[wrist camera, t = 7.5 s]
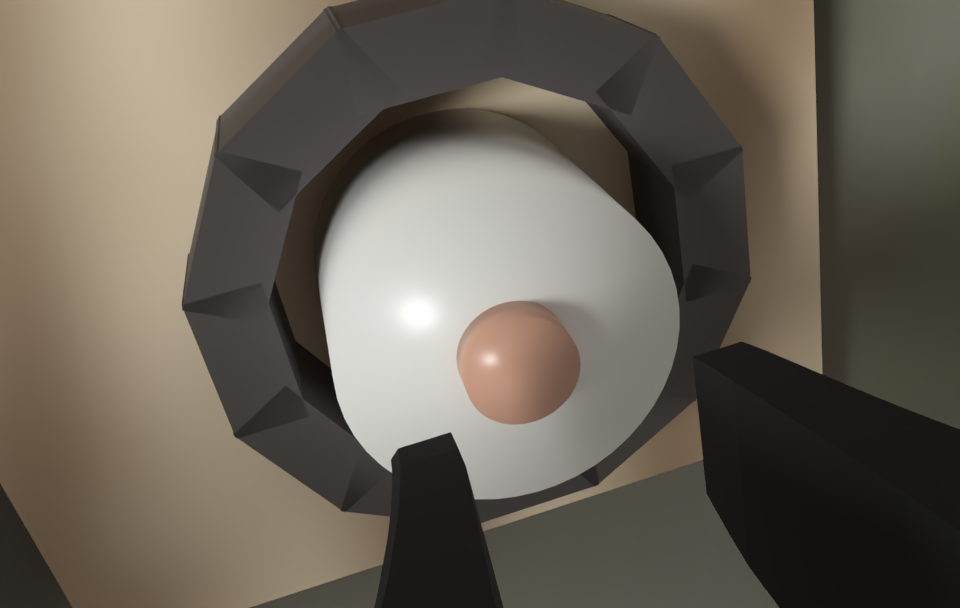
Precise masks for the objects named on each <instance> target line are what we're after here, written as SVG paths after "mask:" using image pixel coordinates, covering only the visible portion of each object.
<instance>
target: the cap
mask: <svg viewBox="0 0 960 608" xmlns="http://www.w3.org/2000/svg"><path fill="white" fill-rule="evenodd" d="M314 257H315V269H316V275H317V281H318V288H319V294H320V300H321V307H322V313H323V319H324V325H325V332H326V338H327V344H328V351H329V357H330V363H331V369H332V376H333V381H334V386H335V391H336V396H337V400H338V403H339V405H340V408H341V411H342V413H343V416H344V419H345V420H346V422H347V424H348V426H349V428H350V429H351V431H352V433H353V435H354V436H355V438H356V439H357V440H358V441H359V443H360V444H361V445H362V446H363V448H364V449H365V450H366V452H367V453H369V454H370V455H371V456H372V457H373V458H374V459H375V460H376V461H377V462H378V463H379V464H380V465H381V466H383V467H384V468H386V469H387V470H388V471H390V472H391V473H392V466H391V459H392V457H393V456H394V454H395V453H396V451H397V450H398V448H401V447H404V446H408V445H411V444H414V443H417V442H421V441H424V440H427V439H430V438H433V437H437V436H440V435H443V434H446V433H449V432H451V433H452V436H453V438H454V440H455V442H456V444H457V447H458V449H459V451H460V453H461V456H462V458H463V461H464V463H465V465H466V468H467V472H468V476H469V480H470V483H471V487H472V491H473V495H474V499H501V498H510V497H517V496H521V495H526V494H530V493H535V492H538V491H541V490H544V489H547V488H550V487H553V486H556V485H558V484H560V483H563V482H565V481H567V480H569V479H571V478H573V477H576V476H578V475H579V474H581V473H583V472H584V471H586V470H588V469H589V468H591V467H593V466H594V465H596V464H597V463H599V462H600V461H601V460H603V459H604V458H605V457H607V456H608V455H609V454H611V453H612V452H613V451H614V450H615V449H617V448H618V447H619V446H620V445H621V444H622V443H623V442H624V441H625V440H626V439H627V438H628V437H629V436H630V435H631V434H632V433H633V432H634V431H635V430H636V428H637V427H638V426H639V425H640V424H641V423H642V421H643V420H644V419H645V417H646V416H647V414H648V413H649V412H650V410H651V409H652V407H653V406H654V404H655V402H656V401H657V399H658V397H659V395H660V393H661V392H662V390H663V388H664V386H665V383H666V381H667V378H668V376H669V373H670V371H671V368H672V365H673V361H674V357H675V354H676V350H677V344H678V336H679V329H680V319H679V302H678V295H677V289H676V285H675V282H674V279H673V276H672V272H671V269H670V267H669V265H668V263H667V261H666V259H665V257H664V255H663V253H662V251H661V249H660V248H659V246H658V245H657V244H656V242H655V241H654V239H653V238H652V236H651V235H650V234H649V233H648V232H647V231H646V230H645V228H644V227H643V226H642V225H641V224H640V223H639V222H638V221H637V220H636V219H635V218H634V217H633V216H632V215H630V214H629V213H628V212H627V211H626V210H625V209H624V208H623V207H622V206H621V205H620V204H618V203H617V202H616V201H615V200H614V199H613V198H612V197H611V196H610V195H609V194H608V193H606V192H605V191H604V190H603V189H602V188H601V187H600V186H599V185H598V184H597V183H595V182H594V181H593V180H592V179H591V178H590V177H589V176H588V175H587V174H586V173H585V172H583V171H582V170H581V169H580V168H579V167H578V166H577V165H576V164H575V163H574V162H573V161H571V160H570V159H569V158H568V157H567V156H566V155H565V154H564V153H563V152H562V151H561V150H559V149H558V148H557V147H556V146H555V145H554V144H553V143H552V142H551V141H549V140H548V139H547V138H546V137H544V136H543V135H542V134H540V133H539V132H538V131H537V130H535V129H533V128H531V127H530V126H528V125H526V124H524V123H523V122H521V121H518V120H516V119H513V118H511V117H508V116H506V115H502V114H498V113H494V112H490V111H486V110H476V109H446V110H440V111H434V112H428V113H425V114H421V115H418V116H415V117H411V118H409V119H407V120H404V121H402V122H400V123H398V124H396V125H393V126H391V127H390V128H388V129H387V130H385V131H383V132H382V133H380V134H378V135H377V136H375V137H374V138H373V139H371V140H370V141H369V142H368V143H366V144H365V145H364V146H363V147H362V148H360V149H359V150H358V151H357V152H356V153H355V155H354V156H353V157H352V158H351V159H350V160H349V161H348V162H347V163H346V164H345V166H344V167H343V168H342V170H341V171H340V172H339V174H338V175H337V177H336V178H335V180H334V182H333V183H332V185H331V187H330V189H329V191H328V193H327V194H326V197H325V199H324V202H323V205H322V207H321V210H320V213H319V217H318V221H317V226H316V230H315V241H314Z"/></svg>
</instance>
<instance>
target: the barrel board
mask: <svg viewBox="0 0 960 608" xmlns="http://www.w3.org/2000/svg"><path fill="white" fill-rule="evenodd" d="M446 109H476V110H486V111H490V112H494V113H498V114H502V115H506V116H508V117H511V118H513V119H516V120H518V121H521V122H523V123H524V124H526V125H528V126H530V127H531V128H533V129H535V130H537V131H538V132H539V133H540V134H542V135H543V136H544V137H546V138H547V139H548V140H549V141H551V142H552V143H553V144H554V145H555V146H556V147H557V148H558V149H559V150H561V151H562V152H563V153H564V154H565V155H566V156H567V157H568V158H569V159H570V160H571V161H573V162H574V163H575V164H576V165H577V166H578V167H579V168H580V169H581V170H582V171H583V172H585V173H586V174H587V175H588V176H589V177H590V178H591V179H592V180H593V181H594V182H595V183H597V184H598V185H599V186H600V187H601V188H602V189H603V190H604V191H605V192H606V193H608V194H609V195H610V196H611V197H612V198H613V199H614V200H615V201H616V202H617V203H618V204H620V205H621V206H622V207H623V208H624V209H625V210H626V211H627V212H628V213H629V214H630V215H632V216H633V217H634V218H635V219H636V220H637V221H638V222H639V223H640V224H641V225H642V226H643V227H644V228H645V230H646V231H647V232H648V233H649V234H650V235H651V236H652V238H653V239H654V241H655V242H656V244H657V245H658V246H659V248H660V249H661V251H662V253H663V255H664V257H665V259H666V261H667V263H668V265H669V267H670V269H671V272H672V276H673V279H674V282H675V285H676V289H677V295H678V302H679V319H680V329H679V336H678V344H677V350H676V354H675V357H674V361H673V365H672V368H671V371H670V373H669V376H668V378H667V381H666V383H665V386H664V388H663V390H662V392H661V393H660V395H659V397H658V399H657V401H656V402H655V404H654V406H653V407H652V409H651V410H650V412H649V413H648V414H647V416H646V417H645V419H644V420H643V421H642V423H641V424H640V425H639V426H638V427H637V428H636V430H635V431H634V432H633V433H632V434H631V435H630V436H629V437H628V438H627V439H626V440H625V441H624V442H623V443H622V444H621V445H620V446H619V447H618V448H617V449H615V450H614V451H613V452H612V453H611V454H609V455H608V456H607V457H605V458H604V459H603V460H601V461H600V462H599V463H597V464H596V465H594V466H593V467H591V468H589V469H588V470H586V471H584V472H583V473H581V474H579V475H578V476H576V477H573V478H571V479H569V480H567V481H565V482H563V483H560V484H558V485H556V486H553V487H550V488H547V489H544V490H541V491H538V492H535V493H530V494H526V495H521V496H517V497H510V498H501V499H475V502H476V506H477V510H478V514H479V518H480V521H481V525H482V529H483V531H486V530H489V529H492V528H496V527H499V526H502V525H505V524H508V523H511V522H514V521H517V520H520V519H523V518H526V517H529V516H532V515H535V514H539V513H542V512H545V511H548V510H551V509H554V508H557V507H560V506H563V505H566V504H569V503H572V502H575V501H578V500H581V499H585V498H588V497H591V496H594V495H597V494H600V493H603V492H606V491H609V490H612V489H615V488H618V487H621V486H624V485H627V484H631V483H634V482H637V481H640V480H643V479H646V478H649V477H652V476H655V475H658V474H661V473H664V472H667V471H670V470H673V469H677V468H680V467H683V466H686V465H689V464H692V463H695V462H698V461H701V460H703V452H702V443H701V433H700V423H699V414H698V404H697V395H696V385H695V375H694V366H693V356H697V355H700V354H703V353H706V352H710V351H713V350H716V349H719V348H722V347H726V346H729V345H732V344H735V343H738V342H745V343H747V344H750V345H753V346H756V347H758V348H761V349H763V350H766V351H768V352H771V353H773V354H775V355H778V356H780V357H783V358H785V359H787V360H790V361H792V362H794V363H797V364H799V365H801V366H804V367H806V368H808V369H811V370H813V371H815V372H818V373H820V374H822V334H821V291H820V249H819V206H818V164H817V121H816V79H815V36H814V0H0V484H1V486H2V487H3V489H4V491H5V492H6V494H7V496H8V498H9V499H10V501H11V503H12V504H13V506H14V508H15V510H16V511H17V513H18V515H19V517H20V518H21V520H22V522H23V523H24V525H25V527H26V529H27V530H28V532H29V534H30V535H31V537H32V539H33V541H34V542H35V544H36V546H37V548H38V549H39V551H40V553H41V554H42V556H43V558H44V560H45V561H46V563H47V565H48V566H49V568H50V570H51V572H52V573H53V575H54V577H55V578H56V580H57V582H58V584H59V585H60V587H61V589H62V591H63V592H64V594H65V596H66V597H67V599H68V601H69V603H70V604H71V606H72V608H250V607H253V606H256V605H259V604H262V603H265V602H269V601H272V600H275V599H278V598H281V597H284V596H287V595H290V594H293V593H296V592H299V591H302V590H305V589H308V588H311V587H315V586H318V585H321V584H324V583H327V582H330V581H333V580H336V579H339V578H342V577H345V576H348V575H351V574H354V573H358V572H361V571H364V570H367V569H370V568H373V567H376V566H379V565H382V564H383V561H384V555H385V550H386V544H387V538H388V530H389V521H390V512H391V501H392V473H391V472H390V471H388V470H387V469H386V468H384V467H383V466H381V465H380V464H379V463H378V462H377V461H376V460H375V459H374V458H373V457H372V456H371V455H370V454H369V453H367V452H366V450H365V449H364V448H363V446H362V445H361V444H360V443H359V441H358V440H357V439H356V438H355V436H354V435H353V433H352V431H351V429H350V428H349V426H348V424H347V422H346V420H345V419H344V416H343V413H342V411H341V408H340V405H339V403H338V400H337V396H336V391H335V386H334V381H333V376H332V369H331V363H330V357H329V351H328V344H327V338H326V332H325V325H324V319H323V313H322V307H321V300H320V294H319V288H318V281H317V275H316V269H315V257H314V241H315V230H316V226H317V221H318V217H319V213H320V210H321V207H322V205H323V202H324V199H325V197H326V194H327V193H328V191H329V189H330V187H331V185H332V183H333V182H334V180H335V178H336V177H337V175H338V174H339V172H340V171H341V170H342V168H343V167H344V166H345V164H346V163H347V162H348V161H349V160H350V159H351V158H352V157H353V156H354V155H355V153H356V152H357V151H358V150H359V149H360V148H362V147H363V146H364V145H365V144H366V143H368V142H369V141H370V140H371V139H373V138H374V137H375V136H377V135H378V134H380V133H382V132H383V131H385V130H387V129H388V128H390V127H391V126H393V125H396V124H398V123H400V122H402V121H404V120H407V119H409V118H411V117H415V116H418V115H421V114H425V113H428V112H434V111H440V110H446Z"/></svg>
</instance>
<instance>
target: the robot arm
mask: <svg viewBox="0 0 960 608" xmlns="http://www.w3.org/2000/svg"><path fill="white" fill-rule="evenodd" d="M693 366H694V375H695V385H696V395H697V404H698V414H699V423H700V433H701V443H702V452H703V462H704V471H705V481H706V491H707V495H708V497H709V498H710V500H711V502H712V504H713V506H714V507H715V509H716V511H717V513H718V514H719V516H720V518H721V520H722V522H723V523H724V525H725V527H726V529H727V530H728V532H729V534H730V536H731V537H732V539H733V541H734V542H735V544H736V546H737V547H738V549H739V551H740V552H741V554H742V556H743V557H744V559H745V561H746V562H747V564H748V566H749V567H750V569H751V570H752V571H753V573H754V574H755V575H756V577H757V578H758V579H759V581H760V582H761V583H762V585H763V586H764V587H765V589H766V590H767V591H768V593H769V594H770V595H771V597H772V598H773V599H774V601H775V602H776V603H777V605H778V606H779V607H780V608H960V429H957V428H954V427H951V426H949V425H946V424H943V423H941V422H938V421H936V420H933V419H930V418H928V417H925V416H922V415H920V414H917V413H915V412H912V411H909V410H907V409H904V408H902V407H899V406H897V405H894V404H892V403H889V402H887V401H884V400H882V399H880V398H877V397H875V396H872V395H870V394H867V393H865V392H863V391H860V390H858V389H855V388H853V387H851V386H848V385H846V384H843V383H841V382H839V381H836V380H834V379H832V378H829V377H827V376H825V375H822V374H820V373H818V372H815V371H813V370H811V369H808V368H806V367H804V366H801V365H799V364H797V363H794V362H792V361H790V360H787V359H785V358H783V357H780V356H778V355H775V354H773V353H771V352H768V351H766V350H763V349H761V348H758V347H756V346H753V345H750V344H747V343H745V342H738V343H735V344H732V345H729V346H726V347H722V348H719V349H716V350H713V351H710V352H706V353H703V354H700V355H697V356H693ZM391 466H392V501H391V512H390V521H389V530H388V538H387V544H386V550H385V555H384V561H383V567H382V573H381V579H380V584H379V589H378V594H377V599H376V604H375V608H503V605H502V601H501V597H500V593H499V590H498V586H497V582H496V578H495V574H494V571H493V567H492V563H491V559H490V555H489V552H488V548H487V544H486V540H485V537H484V533H483V529H482V525H481V521H480V518H479V514H478V510H477V506H476V502H475V499H474V495H473V491H472V487H471V483H470V480H469V476H468V472H467V468H466V465H465V463H464V461H463V458H462V456H461V453H460V451H459V449H458V447H457V444H456V442H455V440H454V438H453V436H452V433H451V432H449V433H446V434H443V435H440V436H437V437H433V438H430V439H427V440H424V441H421V442H417V443H414V444H411V445H408V446H404V447H401V448H398V450H397V451H396V453H395V454H394V456H393V457H392V459H391Z"/></svg>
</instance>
